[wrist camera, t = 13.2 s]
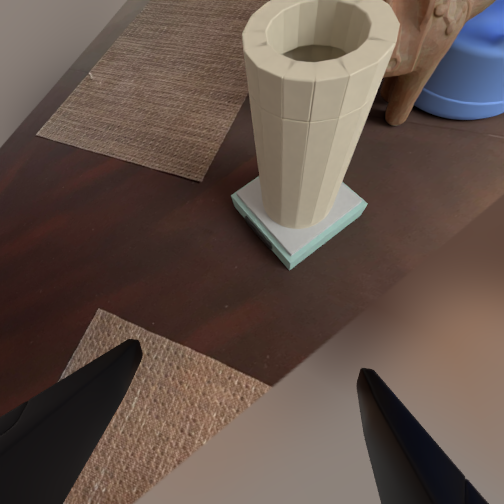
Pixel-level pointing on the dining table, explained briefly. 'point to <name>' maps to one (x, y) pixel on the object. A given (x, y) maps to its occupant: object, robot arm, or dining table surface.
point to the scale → (296, 240)
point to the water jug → (470, 71)
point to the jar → (312, 96)
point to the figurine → (421, 47)
